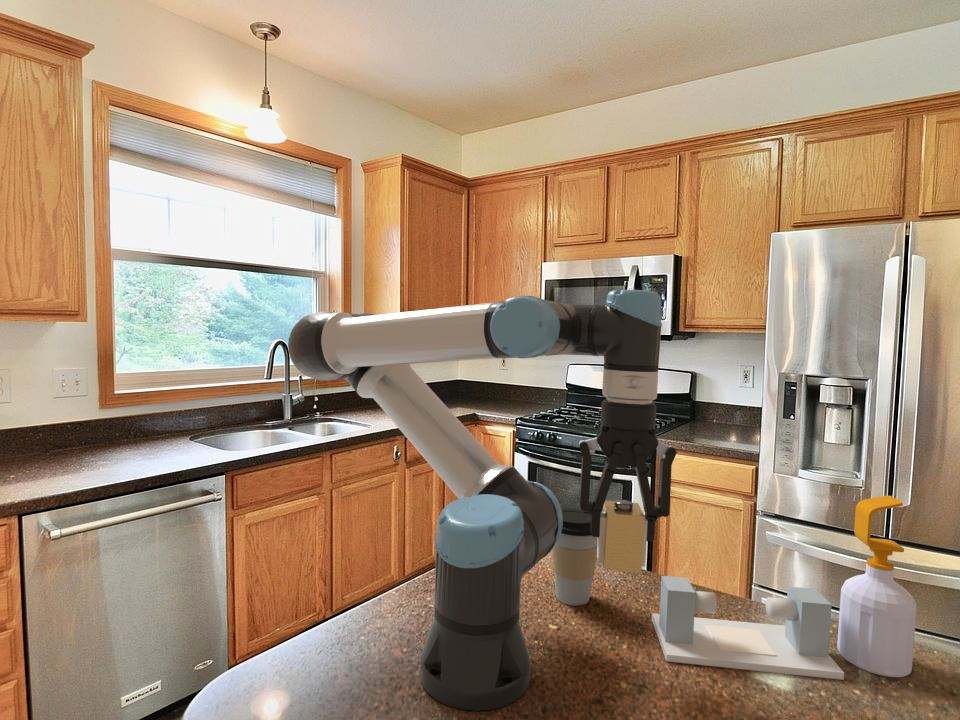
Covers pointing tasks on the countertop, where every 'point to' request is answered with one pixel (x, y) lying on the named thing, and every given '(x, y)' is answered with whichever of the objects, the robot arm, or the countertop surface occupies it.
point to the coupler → (623, 536)
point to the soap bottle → (877, 605)
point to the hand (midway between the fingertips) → (620, 560)
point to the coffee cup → (574, 558)
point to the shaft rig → (747, 632)
